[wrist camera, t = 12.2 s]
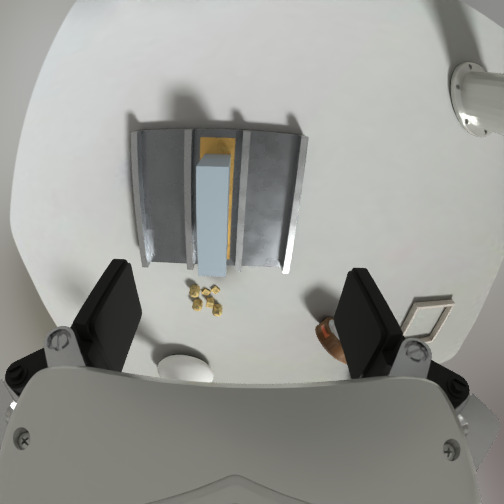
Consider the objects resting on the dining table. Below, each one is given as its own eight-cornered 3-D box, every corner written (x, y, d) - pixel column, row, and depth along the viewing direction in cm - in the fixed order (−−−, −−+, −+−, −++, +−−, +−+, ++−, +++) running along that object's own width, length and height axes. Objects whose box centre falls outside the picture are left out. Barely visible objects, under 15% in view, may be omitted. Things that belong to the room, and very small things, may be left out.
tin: (309, 318, 45) (320, 356, 38) (323, 307, 44) (336, 344, 37) (358, 346, 50) (370, 378, 43) (369, 337, 49) (384, 369, 42)
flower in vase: (197, 344, 47) (185, 475, 25) (223, 376, 53) (222, 488, 31) (141, 355, 49) (116, 468, 27) (171, 385, 54) (158, 485, 33)
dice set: (222, 308, 44) (221, 316, 42) (190, 305, 43) (189, 313, 41) (224, 284, 41) (223, 292, 40) (191, 280, 41) (189, 288, 39)
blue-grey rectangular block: (230, 154, 30) (228, 166, 24) (227, 245, 36) (225, 276, 30) (204, 153, 30) (196, 166, 24) (204, 244, 36) (198, 275, 30)
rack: (303, 135, 30) (308, 137, 28) (285, 263, 39) (288, 273, 37) (138, 130, 29) (130, 132, 26) (147, 257, 38) (142, 267, 35)
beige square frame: (451, 299, 46) (455, 303, 45) (429, 337, 52) (432, 342, 51) (414, 302, 45) (417, 307, 44) (392, 343, 51) (394, 348, 50)
